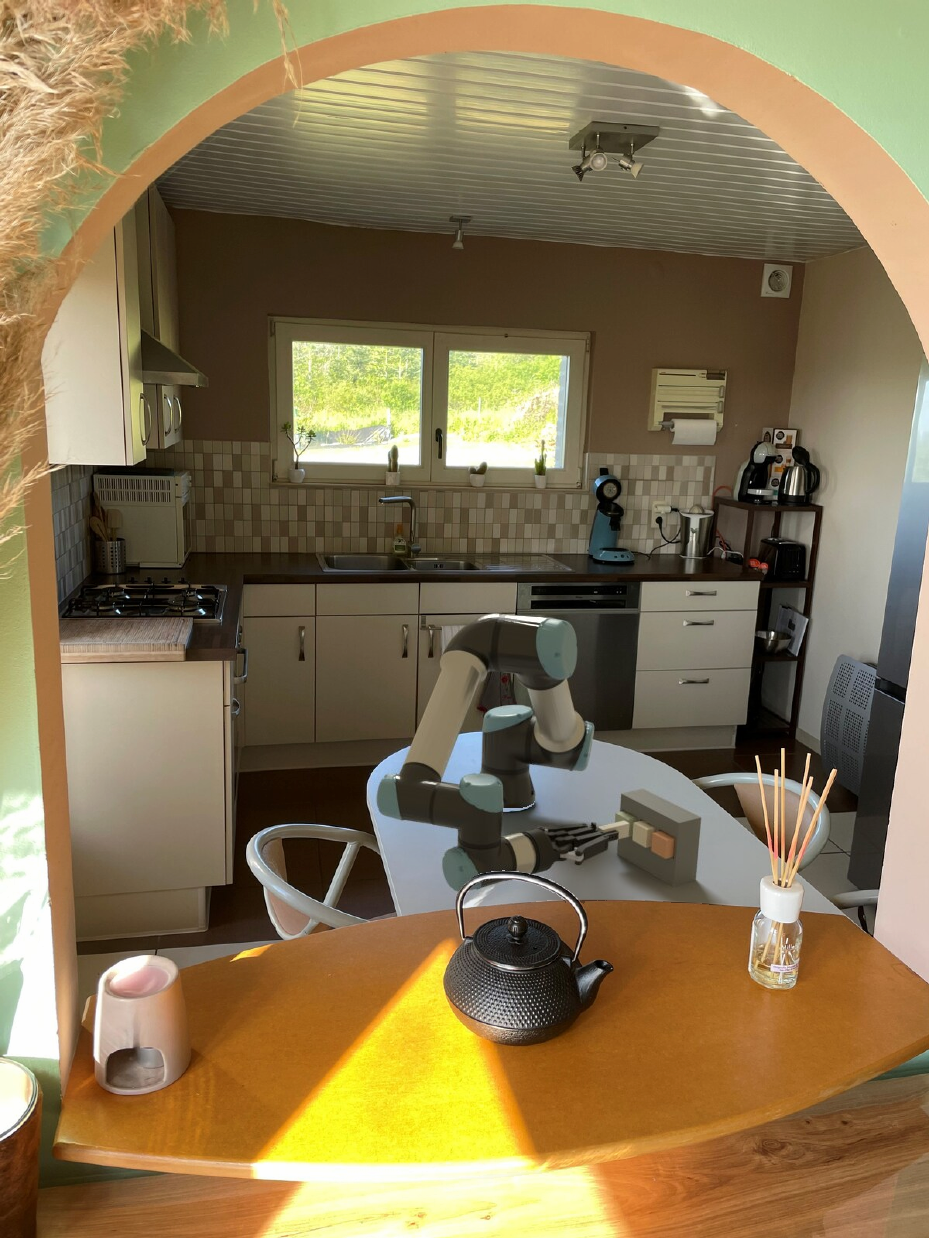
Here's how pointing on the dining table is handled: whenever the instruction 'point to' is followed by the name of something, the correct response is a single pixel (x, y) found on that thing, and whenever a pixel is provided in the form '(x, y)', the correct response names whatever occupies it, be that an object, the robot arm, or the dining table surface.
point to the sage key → (626, 819)
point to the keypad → (666, 820)
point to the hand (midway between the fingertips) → (626, 828)
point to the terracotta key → (663, 844)
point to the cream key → (643, 833)
